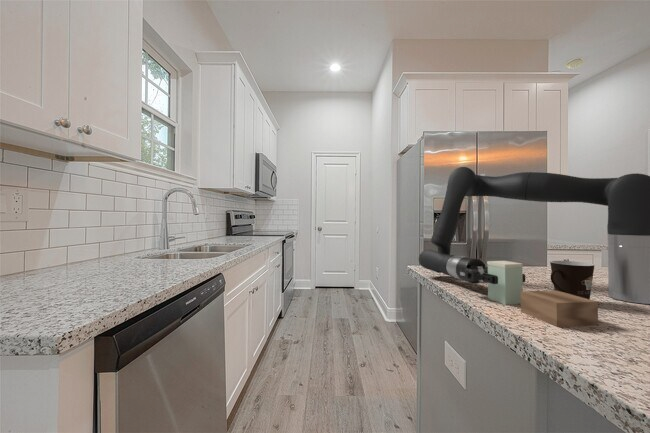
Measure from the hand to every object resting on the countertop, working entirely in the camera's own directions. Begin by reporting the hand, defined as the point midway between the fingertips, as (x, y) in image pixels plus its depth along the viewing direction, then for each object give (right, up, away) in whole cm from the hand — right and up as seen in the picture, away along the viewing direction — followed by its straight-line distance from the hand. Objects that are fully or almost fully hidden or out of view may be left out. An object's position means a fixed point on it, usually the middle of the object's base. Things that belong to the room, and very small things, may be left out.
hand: (510, 279), depth 70 cm
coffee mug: (+15, -6, +1) cm, 16 cm away
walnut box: (+2, -6, -11) cm, 13 cm away
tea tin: (0, -6, +2) cm, 6 cm away
